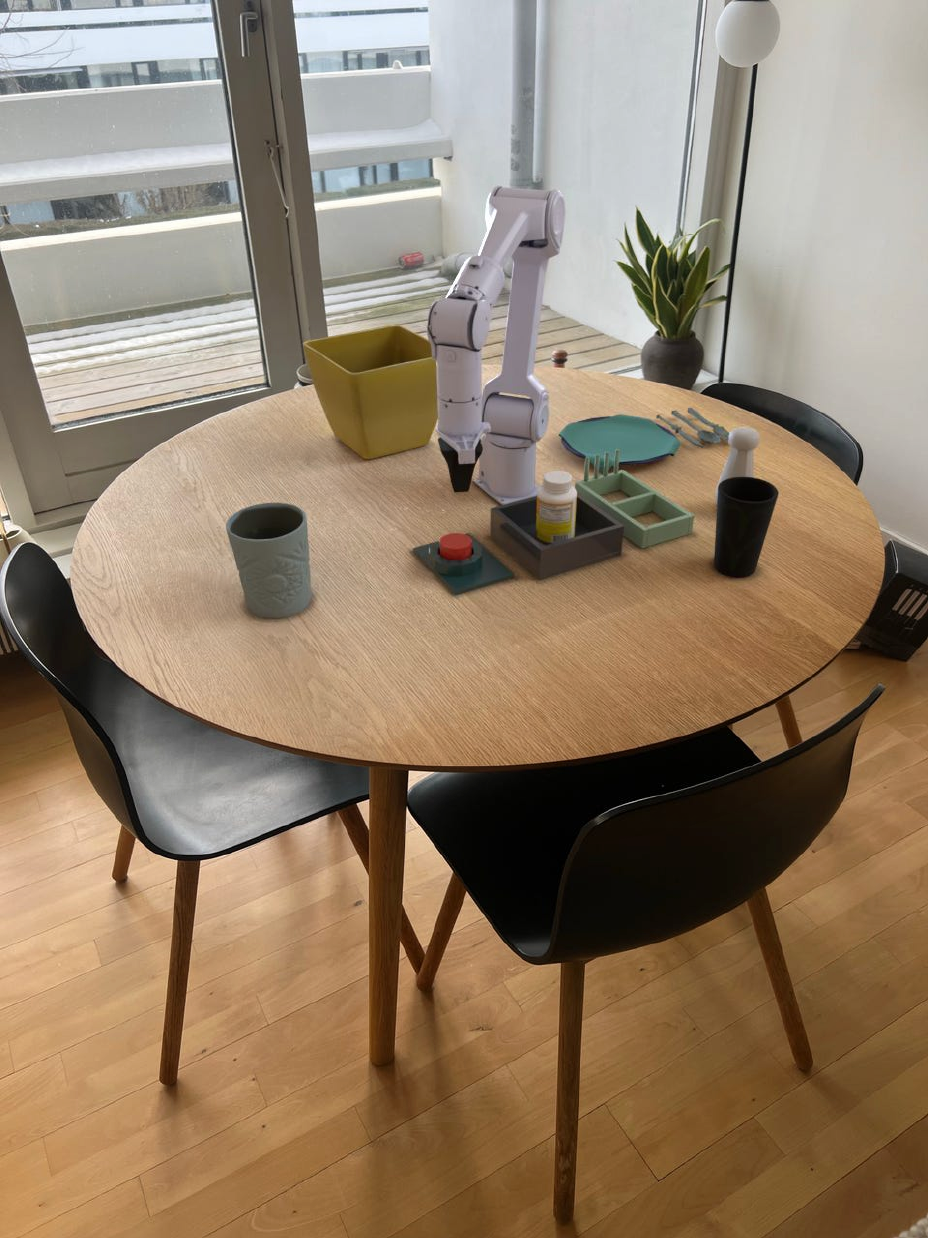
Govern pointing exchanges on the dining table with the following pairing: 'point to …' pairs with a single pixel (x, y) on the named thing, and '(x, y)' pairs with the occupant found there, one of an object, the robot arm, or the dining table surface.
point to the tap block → (464, 567)
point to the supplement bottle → (556, 508)
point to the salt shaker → (740, 454)
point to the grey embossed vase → (272, 558)
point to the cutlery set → (632, 438)
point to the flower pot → (376, 388)
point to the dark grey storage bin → (589, 546)
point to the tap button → (455, 546)
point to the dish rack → (634, 504)
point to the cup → (742, 524)
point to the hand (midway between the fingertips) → (460, 489)
